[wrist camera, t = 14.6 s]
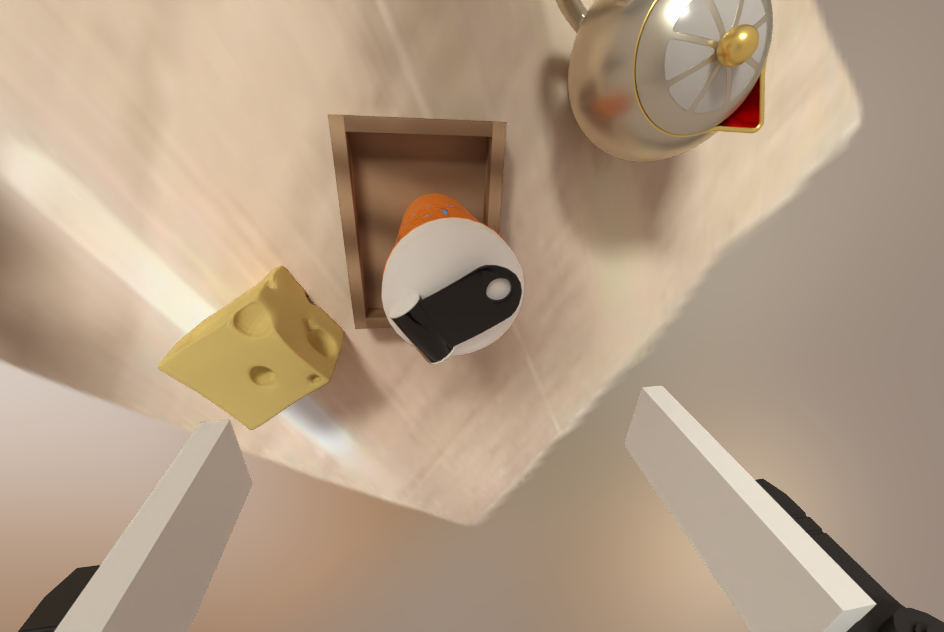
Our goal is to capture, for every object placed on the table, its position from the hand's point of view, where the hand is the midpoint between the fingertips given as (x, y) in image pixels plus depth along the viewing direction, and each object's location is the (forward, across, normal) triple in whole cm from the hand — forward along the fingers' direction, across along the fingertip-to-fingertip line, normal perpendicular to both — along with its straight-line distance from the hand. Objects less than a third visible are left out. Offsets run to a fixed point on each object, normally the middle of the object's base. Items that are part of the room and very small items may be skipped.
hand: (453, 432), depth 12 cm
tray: (+30, 0, 0) cm, 30 cm away
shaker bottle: (+29, +1, 0) cm, 29 cm away
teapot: (+30, +17, +15) cm, 38 cm away
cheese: (+30, -16, -11) cm, 36 cm away
